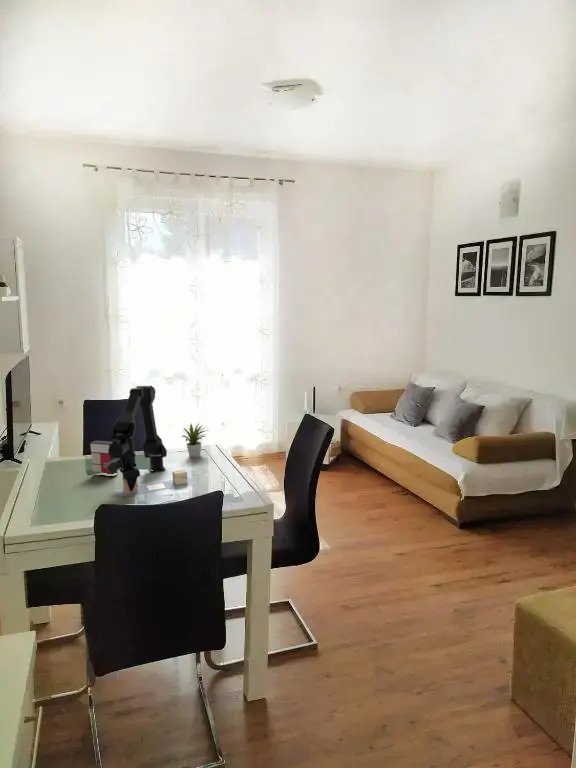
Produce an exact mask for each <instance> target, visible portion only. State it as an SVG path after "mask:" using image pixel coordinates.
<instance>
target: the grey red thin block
mask: <svg viewBox="0 0 576 768" xmlns="http://www.w3.org/2000/svg"><path fill="white" fill-rule="evenodd" d="M112 444H113V441H107V440H94V441H91V442H89V445H90V455H91V464H92V465H91V466H92V472H93V471H95V472H103V473H107V474H114V473H117V474H118V469H117V470H115V471H113V472H112V473H109V471H108V469H107V467H106V465H105V464H106V463H107V462H109V461H111V460H113V459H116V458H113V457H111V456H110V454H109V452H108V450H109V447H110V445H112Z"/></svg>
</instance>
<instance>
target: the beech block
mask: <svg viewBox="0 0 576 768" xmlns="http://www.w3.org/2000/svg"><path fill="white" fill-rule="evenodd" d="M171 473H172V480H173V483H174V484H175V485H181V484H187V483H188V480H187V478H188V471H187V470H186V469H185V468H177V469H173V470H172V471H171Z"/></svg>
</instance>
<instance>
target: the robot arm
mask: <svg viewBox="0 0 576 768" xmlns="http://www.w3.org/2000/svg"><path fill="white" fill-rule="evenodd" d="M155 398H156V388H155V387H154V386H153V385H137V386H136V387H132V388H130V390H129V396H128V398H127V399H128V400H127V401H126V405H125V407H124V410H123V411H122V412H123V413H122V414H120V415H119V416H118V417H117V419H116V420H115V422H114V424H113V428H112V432H111V433H112V434H111V438H110V439H111V440H112V442H113V444H112V445H110V447H109V450H108V452H109V454H110V456H111V457H113V458H116V459H113V460H111V461H109V462H107V463H106V464H105V465H106V467H107V469H108V471H109V473H112V472H113V471H115V470H117V471H118V469H119V472H120V473H121V474H122V478H124V479H126V480H127V483H128V486H129V489H130V491H133V489H134V486H135V483H136V480H137V481H138V478H139V477H140V476H141V471H140V470H139V468H138V467H137V463H136V453H135V442H134V441H135V440H134V437H135V433H136V428H137V424H136V420H135V418H136V415H137V412H138V410H139V407H140V408H141V414H142V420H143V426H144V427H143V428H144V432H145V437H146V438H145V440H144V441H143V443H142V447H143V448H142V450H143V451H142V452H143V454H144V458H146V459H147V458H148V459H149V466H150V467H149V468H150V469H151V470H153V471H151V472H150V473H155V472H154V471H158V472H162V471H163V472H164V471H166V468H165V466H164V458H166V457H168V456H167V454H168V450H167V448H166V446H165V445H164V443H163V440H162V438H161V437H160V436H159V435H158V432H157V426H156V419H155V413H154V407H153V403H154V402H155V400H156V399H155Z"/></svg>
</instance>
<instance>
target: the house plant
mask: <svg viewBox="0 0 576 768" xmlns="http://www.w3.org/2000/svg"><path fill="white" fill-rule="evenodd" d="M203 425H204V424H202V425H200V426H199V423H197V425H196V426H195V428H194V427H193V424H192V423H190V425H189V427H183V431H184V432H185V433H186V434H187V436H186V435H181V437H182V438H185V442H186V448H187V452H188V455H189V458H192V457H193V458H194V457H195V458H199V457H200V456H201V451H202V442H200V440H201V441H203V438H205V437H206V438H208V437H207V434H203V433H205V432H207V431H210V430H209V429H208V430H206V428H207V426H206V427H203ZM186 428H188V429H186ZM204 429H205V430H204ZM202 434H203V435H202Z"/></svg>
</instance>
